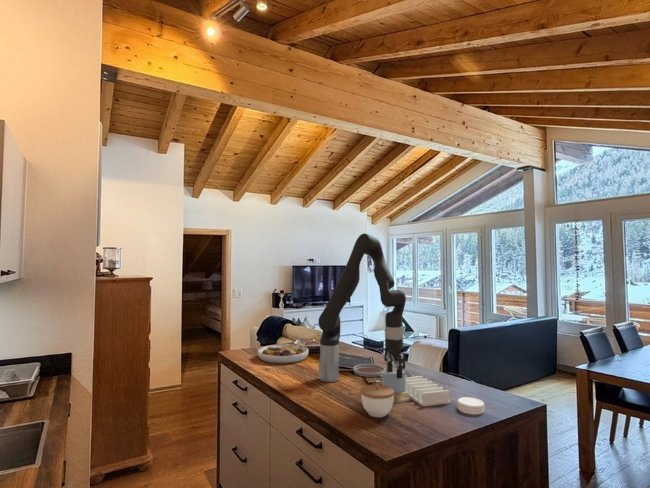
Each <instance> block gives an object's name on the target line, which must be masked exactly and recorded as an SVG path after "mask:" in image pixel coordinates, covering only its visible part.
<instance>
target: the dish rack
mask: <svg viewBox="0 0 650 488" xmlns="http://www.w3.org/2000/svg"><path fill="white" fill-rule="evenodd" d="M405 392H408V397H410V398H411V400H413V401H414V402H416V403H417V404H419V405H420V406H421V407H429V406H431V407H432V406H438V405H444V404H451V402H452V401H451V400H450V390H448V389H444V386H439V384H437V383H433V380H428V378H424V376H423V375H417V376H416V375H415V376H409V377H408V376H407V377H406V376H405Z"/></svg>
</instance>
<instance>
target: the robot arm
mask: <svg viewBox="0 0 650 488" xmlns="http://www.w3.org/2000/svg"><path fill="white" fill-rule="evenodd" d="M365 255H366V256H369V257H370V258H371V261H372V262H373V265H374V267H373V275H374V278H375V280H376V283H377V285H378V288H379V296H380V303H382V305H383V306H384V307H386V308H391V307H392V310H390V311H388V312H387V313H385V318H384V319H385V320H384V321H385V324H384V325H385V328H384V329H385V330H384V345H385V347H384V354H383V355H384V357H383V358H384V362H385V363H386V366H387V367H386V369H387V370H386V373H389V372H394V370H393V364H394V365H395V367H396V372H397V378H398V379H401V378H402V371H403V370H405V369H406V354H405V353H401V350H403V348H404V329H403V315H404V311H405V310H404V309H405V306H406V302H407V296H406V294H405V292H404V291H403V290H401V289H393V288H394V286H395V280H394V278H393V276H392V274H391V272H390V269H389V268H388V264H387V262H386V258H385V255H384V252H383V248H382V244H381V242H380V240H379V238H376V237H375V236H373V235H370V234H369V233H368V234H367V233H365V232H364V233H361V234H359V236H358V237H357V239H356V241H355V243H354V245H353V248H352V250H351V253H350V256H349V258H348V261H347V262H346V264H345V266H344V269H343V271H342V273H341V275H340V276H339V278H338V281H337V283H336V285H335V287H334V289H333V292H332V294H331V297H330V299H329V301H328V303H327V305H326V306H325V308H324V309H323V311H322V312H321V314H320V315H319V318H318V321H317V322H318V327H319V328H320V330H322V334H321V337H320V340H319V341H320V343H319V344H320V345H319V346H320V347H319V348H320V349H319V357H320V358H318V379H319V380H320V381H321V382H322V383H323V382H324V383H325V382H327V383H333V382H338V381H339V379H340V372H339V371H340V338H341V316H340V315H341V312H342V310H343V308H344V307H345V305H346V304H347V303H348V302H349V300H350V299H351V298H352V297H353V295H354V292H355V291H356V290H357V288H358V286H359V283H360V275H361V274H360V272H361V271H360V268H361V267H360V266H361V265H360V264H361V261H362V259H363V257H364V256H365Z"/></svg>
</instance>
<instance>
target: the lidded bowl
mask: <svg viewBox="0 0 650 488" xmlns="http://www.w3.org/2000/svg"><path fill="white" fill-rule="evenodd" d="M360 393H361V394H360V397H361V403H362V407H363V409H364V410H365V412H366V413H368V415H369V416H370V417H374V418H384V417H387V415H388V413H390V411H392V408H393V405H394V403H393V400H394V390H393V389H392V388H391V387H388V386H385V385H382V384H379V383H376V384H366V385H363V386H362V387H361V388H360Z"/></svg>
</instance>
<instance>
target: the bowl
mask: <svg viewBox="0 0 650 488" xmlns="http://www.w3.org/2000/svg"><path fill="white" fill-rule="evenodd" d="M308 355H309V348H308V347H306V346H304V345H300V344H287V343H285V344H272V345H266V346H263V347H260V348H259V349H257V356H258V357H259V358H260V360H262V361H263V362H266V363H271V364H280V365H281V364H292V363H293V364H294V363H298V362H300V361H303V360H305V359H306V358H307V357H308Z"/></svg>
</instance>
